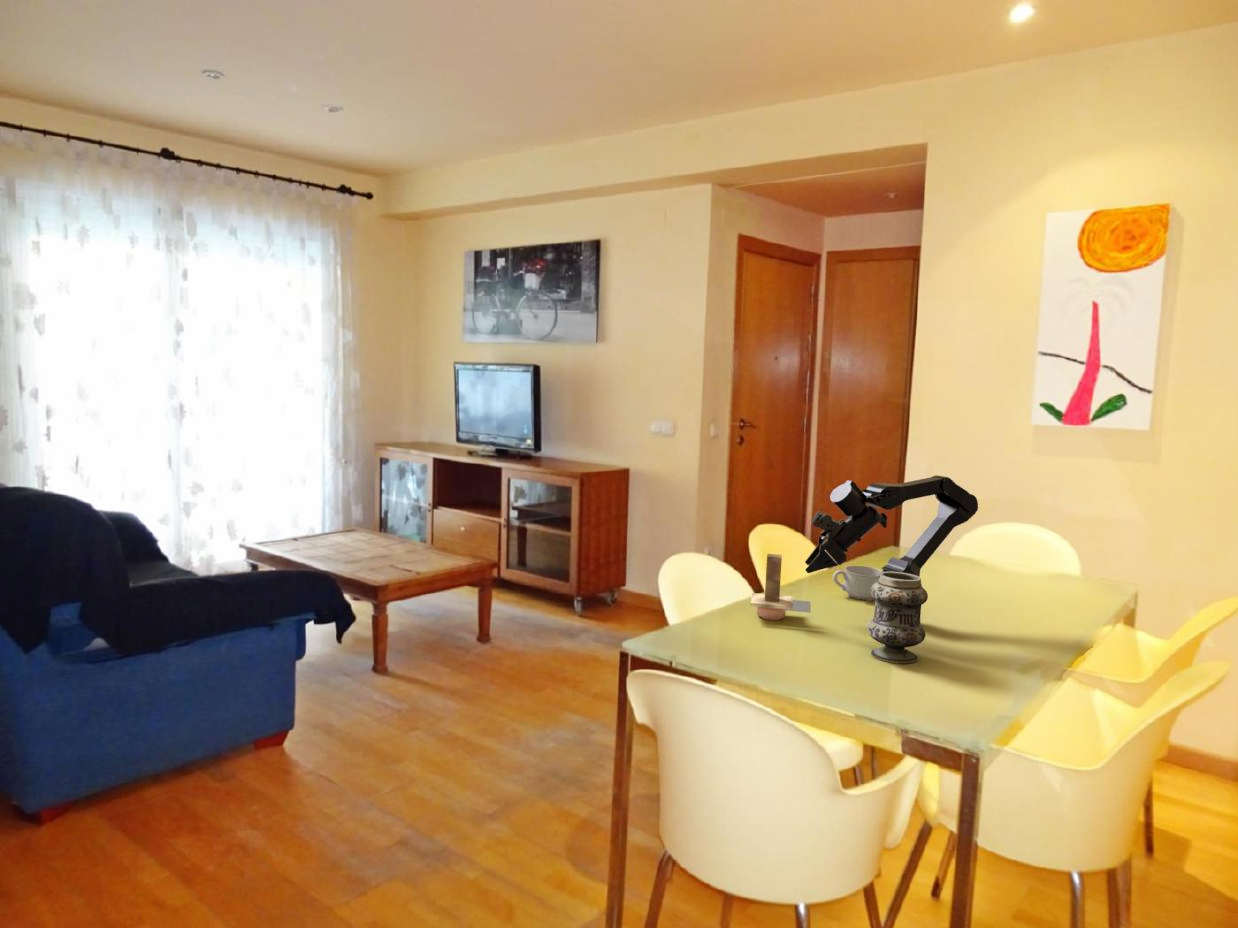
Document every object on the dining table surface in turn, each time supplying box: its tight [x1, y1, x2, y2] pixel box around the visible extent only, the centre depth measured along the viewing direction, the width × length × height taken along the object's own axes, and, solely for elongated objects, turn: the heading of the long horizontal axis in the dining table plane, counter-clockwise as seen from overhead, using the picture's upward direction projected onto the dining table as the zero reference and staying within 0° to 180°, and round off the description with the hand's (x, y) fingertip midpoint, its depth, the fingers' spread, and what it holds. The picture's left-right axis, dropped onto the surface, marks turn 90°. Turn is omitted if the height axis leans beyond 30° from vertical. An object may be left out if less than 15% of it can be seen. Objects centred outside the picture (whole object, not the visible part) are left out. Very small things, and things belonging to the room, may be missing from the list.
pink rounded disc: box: [756, 607, 787, 621], centre depth 216 cm, size 7×7×4 cm
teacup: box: [832, 564, 883, 602], centre depth 240 cm, size 14×11×8 cm
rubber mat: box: [786, 599, 811, 613], centre depth 228 cm, size 11×11×1 cm
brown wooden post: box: [749, 553, 794, 611], centre depth 215 cm, size 10×10×12 cm
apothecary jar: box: [866, 572, 929, 665], centre depth 189 cm, size 12×12×18 cm
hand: (806, 567), depth 213 cm, fingers open, 9 cm apart
